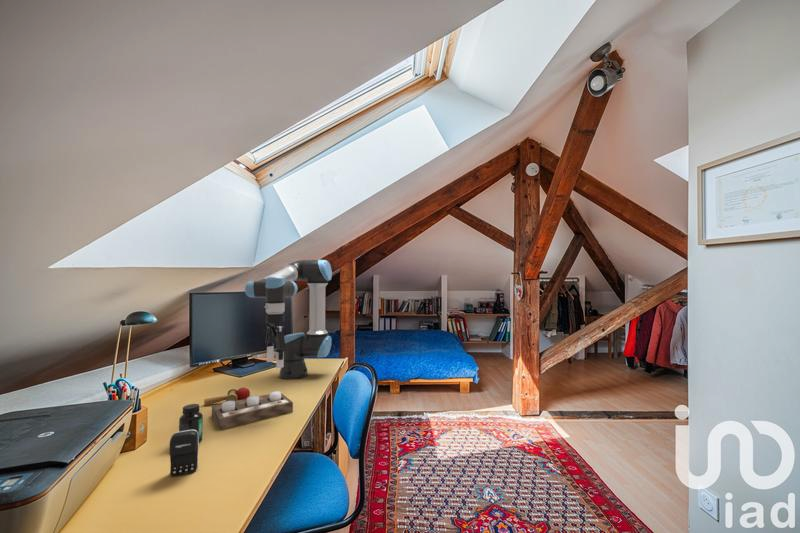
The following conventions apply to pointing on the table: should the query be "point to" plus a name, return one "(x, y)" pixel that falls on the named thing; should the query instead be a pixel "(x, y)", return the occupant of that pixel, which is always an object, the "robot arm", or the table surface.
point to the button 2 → (275, 396)
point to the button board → (251, 411)
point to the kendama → (230, 396)
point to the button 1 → (228, 406)
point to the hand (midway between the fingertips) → (274, 364)
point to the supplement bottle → (192, 419)
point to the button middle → (252, 401)
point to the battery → (184, 452)
